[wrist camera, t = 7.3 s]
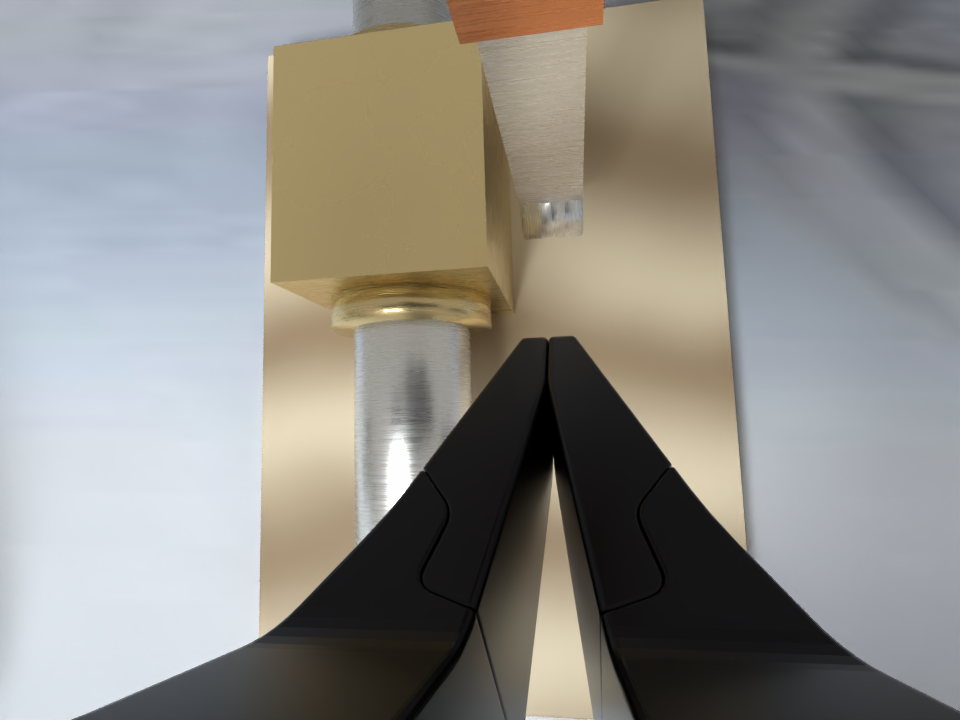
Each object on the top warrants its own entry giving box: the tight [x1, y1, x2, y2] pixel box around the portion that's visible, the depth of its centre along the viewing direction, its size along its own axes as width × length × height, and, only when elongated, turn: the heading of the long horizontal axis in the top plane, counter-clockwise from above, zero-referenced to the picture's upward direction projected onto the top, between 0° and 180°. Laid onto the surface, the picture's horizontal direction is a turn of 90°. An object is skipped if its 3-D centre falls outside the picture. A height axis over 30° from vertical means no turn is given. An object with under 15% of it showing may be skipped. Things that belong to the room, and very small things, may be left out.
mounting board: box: [259, 0, 747, 720], centre depth 19 cm, size 22×15×1 cm
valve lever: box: [446, 0, 604, 240], centre depth 11 cm, size 3×2×14 cm
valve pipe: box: [270, 0, 514, 547], centre depth 16 cm, size 20×5×6 cm, turn 1°
